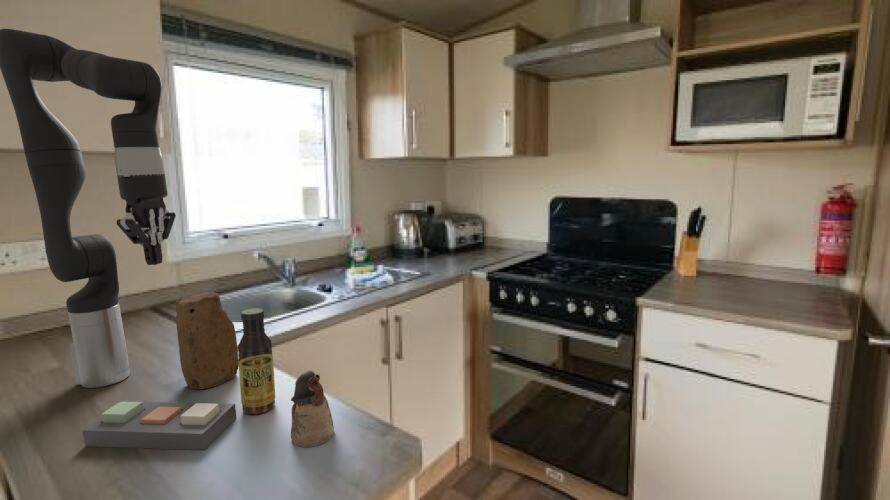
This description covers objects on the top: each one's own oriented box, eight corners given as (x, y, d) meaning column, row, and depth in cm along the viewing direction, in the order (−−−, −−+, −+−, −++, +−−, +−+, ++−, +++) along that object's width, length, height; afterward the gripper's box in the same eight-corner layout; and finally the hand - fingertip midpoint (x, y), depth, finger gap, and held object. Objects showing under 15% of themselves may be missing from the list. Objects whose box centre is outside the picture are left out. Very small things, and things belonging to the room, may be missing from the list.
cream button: (181, 426, 81) (180, 415, 81) (197, 413, 86) (196, 403, 85) (205, 427, 81) (204, 416, 81) (220, 413, 85) (218, 403, 85)
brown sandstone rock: (192, 395, 98) (179, 303, 94) (181, 384, 103) (169, 297, 100) (244, 377, 105) (234, 292, 102) (231, 368, 111) (221, 287, 107)
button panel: (85, 446, 81) (82, 430, 80) (129, 415, 91) (126, 401, 90) (204, 450, 78) (202, 433, 78) (236, 418, 88) (234, 403, 88)
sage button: (103, 424, 83) (101, 414, 83) (122, 411, 87) (120, 401, 87) (125, 424, 82) (124, 414, 82) (144, 411, 87) (142, 402, 86)
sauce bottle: (243, 419, 88) (231, 318, 84) (241, 405, 93) (229, 309, 90) (280, 410, 91) (270, 312, 87) (275, 397, 96) (265, 304, 93)
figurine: (318, 420, 87) (312, 359, 84) (342, 433, 82) (337, 369, 80) (283, 438, 81) (277, 374, 79) (307, 453, 77) (301, 385, 75)
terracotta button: (142, 429, 82) (141, 419, 82) (160, 416, 87) (158, 406, 86) (166, 430, 82) (164, 419, 81) (182, 417, 86) (180, 407, 86)
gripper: (148, 172, 93) (160, 257, 96) (92, 174, 80) (109, 272, 84) (183, 171, 93) (194, 257, 96) (133, 173, 80) (148, 271, 83)
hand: (154, 264), depth 90 cm, fingers closed
